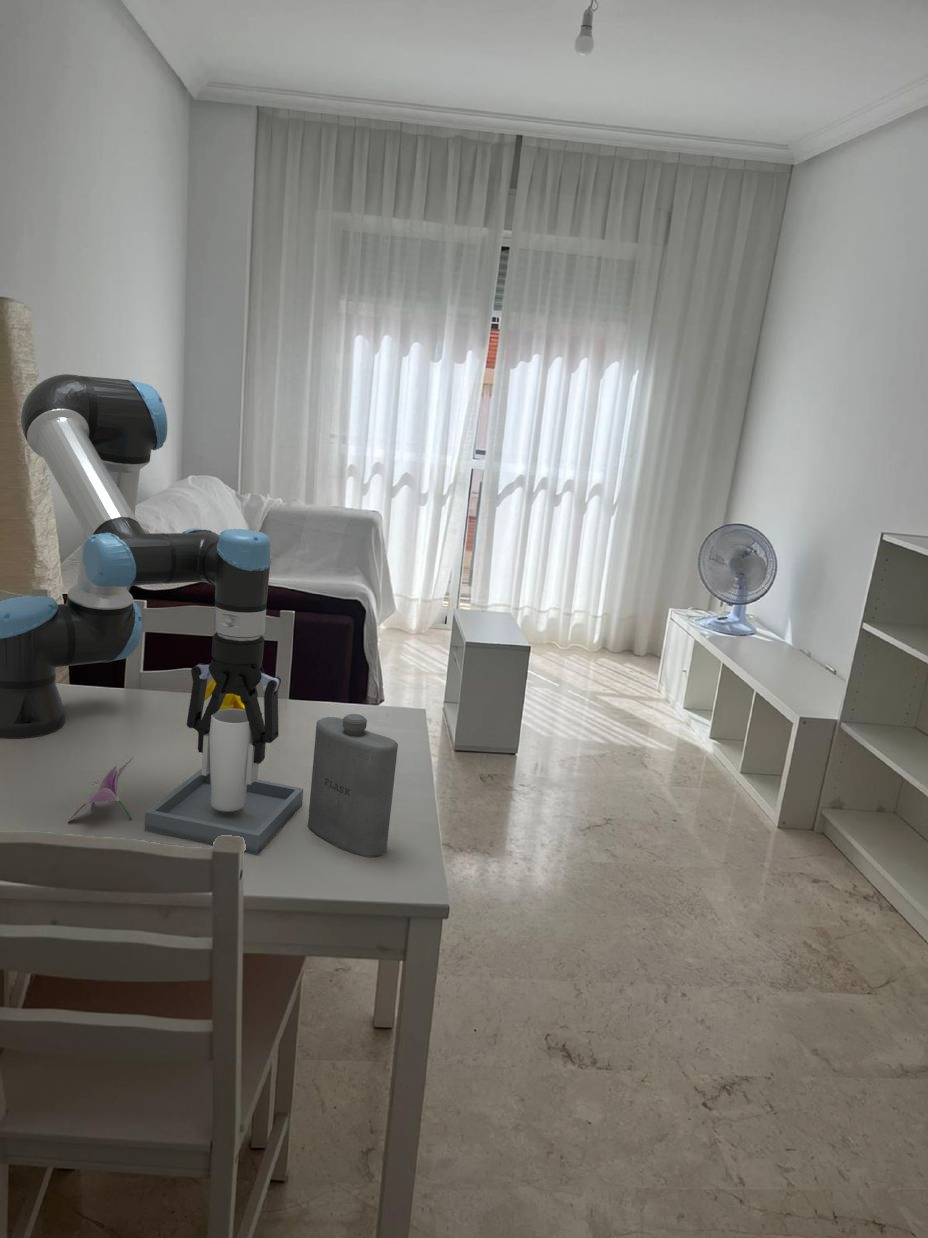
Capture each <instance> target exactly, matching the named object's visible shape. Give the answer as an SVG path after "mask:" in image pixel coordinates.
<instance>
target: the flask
mask: <svg viewBox="0 0 928 1238" xmlns="http://www.w3.org/2000/svg"><path fill="white" fill-rule="evenodd" d="M367 723H368V720H367V718H366V717H364V715H362V714H356V713H351V714H346V715H345V716H343V718H340V717H336V716H330V717H329V716H328V717H327V716H326V717H322V718H320V719H318V720H317V721H316V724H315V725H316V727H315V737H314V739H315V740H314V750H313V760H312V772H311V781H310V794H309V796H310V797H309V806H308V819H307V824H308V825H307V826H308V828H309V829H310V830H311V831H312V832H313V833H315V834H316V835H317V836H319V837H321V839H323V840H325V841H326V842H329V844H332V845H334V846H336V847H338V848H341V849H343V850H345V851H348V852H350V853H352V854H356V855H359V856H362V857H368V858H373V857H380V856H382V855H384V854H385V853H386V852H387V849H388V841H389V831H390V822H391V812H392V803H393V794H394V784H395V775H396V766H397V758H398V749H399V747H398V746H399V743H397V741H396V740H394V739H392V738H390V737H387V736H385V735H380V734H379V733H378V734H377V733H374V732H372V731H369V730H366V729H367V726H368V725H367Z"/></svg>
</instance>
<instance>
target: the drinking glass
mask: <svg viewBox="0 0 928 1238" xmlns="http://www.w3.org/2000/svg"><path fill="white" fill-rule="evenodd" d="M251 742H253V737H252V734H251V730H250V726H249V722H248V718H247V715H246V711H245V710H242V709H222V710H218V711H217V712H216V713H215V714H212V715H211V722H210V734H209V751H210V780H211V798H210V803H211V806H212V807H213V808H214V809H216V810H218V811H222V812H233V811H237V810H240V809H241V808H243V807H244V805H245V801H246V790H247V784H246V774H247V759H248V745H249V744H250V743H251Z"/></svg>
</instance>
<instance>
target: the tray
mask: <svg viewBox="0 0 928 1238" xmlns="http://www.w3.org/2000/svg"><path fill="white" fill-rule="evenodd" d="M201 773H202V768H200V769H199V770H198V771H196V772H195V773H194V774H192V775H191V776H190V777H189V778H187V779H186V780H185V781H183V782H182V783H181V784H180V785H179V786H177V787H175V789H173V790H172V791H170V792H169V793H168V794H167V795H166V796H164V797H163V798H162V799H160V800H159V801H158V802H157V803H155V804H154V805H152V806H151V807H149V809H148V810H146V811H144V831H145V832H149V833H154V834H158V835H164V836H168V837H174V838H177V839H183V840H188V841H193V842H197V843H202V844H205V845H206V844H207V845H210V844H211V846H214V845H213V842H214V841H215V839H216V838H217V837H218V836H221V835H232V836H240V837H243V838H244V840H245V844H246V850H245V852H244V853H249V854H252V855H253V854H254V855H259V854H260V852H261V851H262V850H264V848H265V847H266V846H267V845H268V844H269V842H271V840H272V839H273V838H274V837H276V835H277V834H278V833H279V832H280V831H281V829H283V828H284V826H285V825H286V824H287V823H288V821H290V819H291V818H292V817H293V816H294V815H295V814H296V813H297V812H298V811H299V810H300V808H301V807H302V806H303V799H304V798H303V797H304V788H303V787H296V786H292V785H289V784H288V785H287V784H283V783H278V782H272V781H268V780H262V779H258V778H257V779H256V780H255V781H254V782H253V783H252V784H251V785H249V784H247V790H246V801H245V805H244V807H243V808H241V809H240V810H237V811H233V812H222V811H218V810H216V809H214V808H213V807H212V806H211V803H210V798H211V780H210V773H209V774H208V775H206V776H204V775H201Z"/></svg>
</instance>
